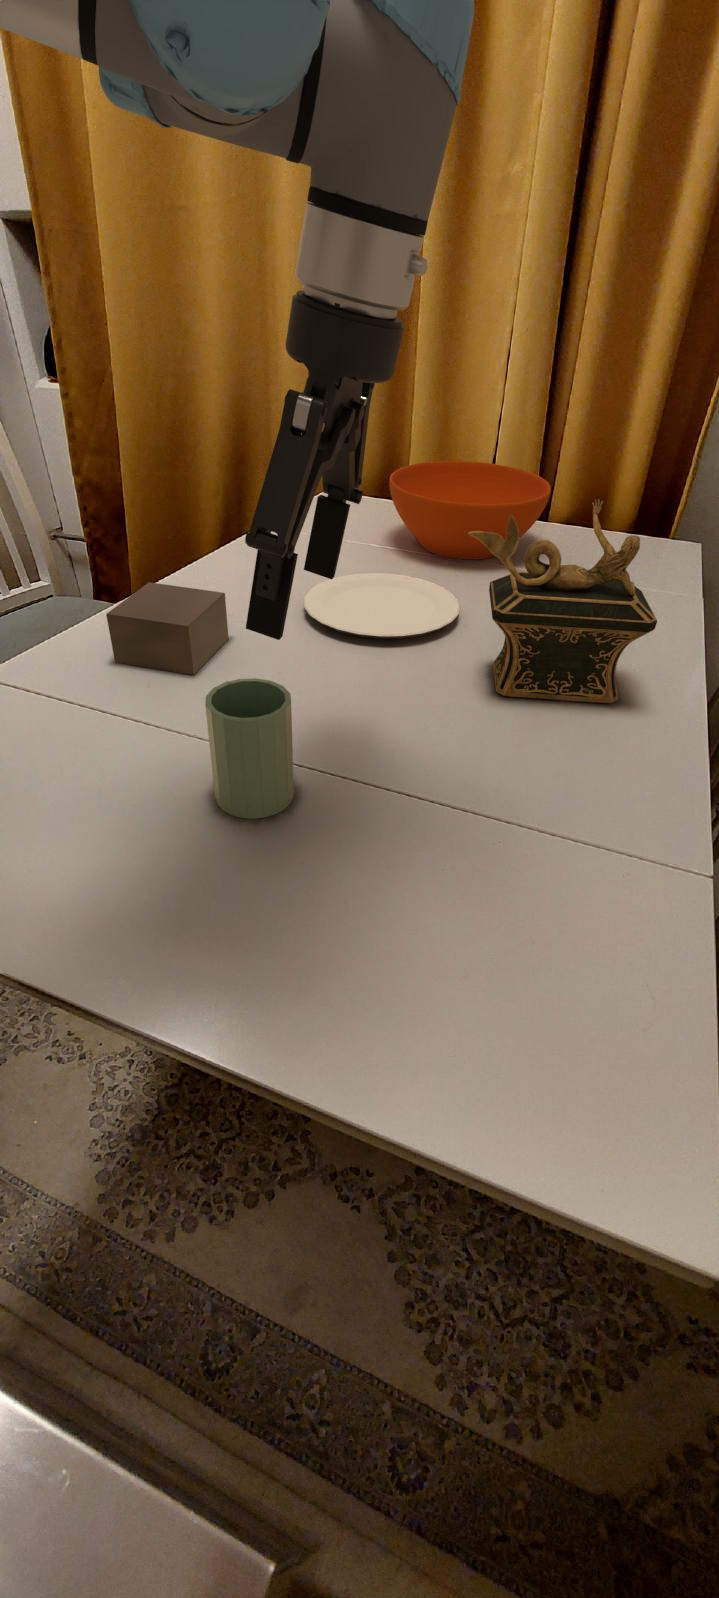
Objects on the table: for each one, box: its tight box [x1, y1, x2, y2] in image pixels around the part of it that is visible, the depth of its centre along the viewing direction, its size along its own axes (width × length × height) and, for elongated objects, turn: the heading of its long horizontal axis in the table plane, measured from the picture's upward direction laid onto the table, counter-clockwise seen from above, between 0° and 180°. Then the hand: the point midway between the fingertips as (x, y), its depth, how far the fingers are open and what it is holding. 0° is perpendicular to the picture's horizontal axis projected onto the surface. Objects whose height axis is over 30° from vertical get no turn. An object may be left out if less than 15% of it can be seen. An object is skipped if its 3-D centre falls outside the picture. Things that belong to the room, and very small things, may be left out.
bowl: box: [388, 460, 552, 560], centre depth 122 cm, size 25×25×10 cm
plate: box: [303, 572, 461, 639], centre depth 101 cm, size 21×21×2 cm
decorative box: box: [468, 498, 658, 704], centre depth 82 cm, size 20×10×20 cm, turn 85°
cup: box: [204, 677, 295, 820], centre depth 66 cm, size 7×7×10 cm
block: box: [105, 582, 230, 676], centre depth 89 cm, size 10×10×6 cm
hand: (293, 600), depth 62 cm, fingers open, 13 cm apart
